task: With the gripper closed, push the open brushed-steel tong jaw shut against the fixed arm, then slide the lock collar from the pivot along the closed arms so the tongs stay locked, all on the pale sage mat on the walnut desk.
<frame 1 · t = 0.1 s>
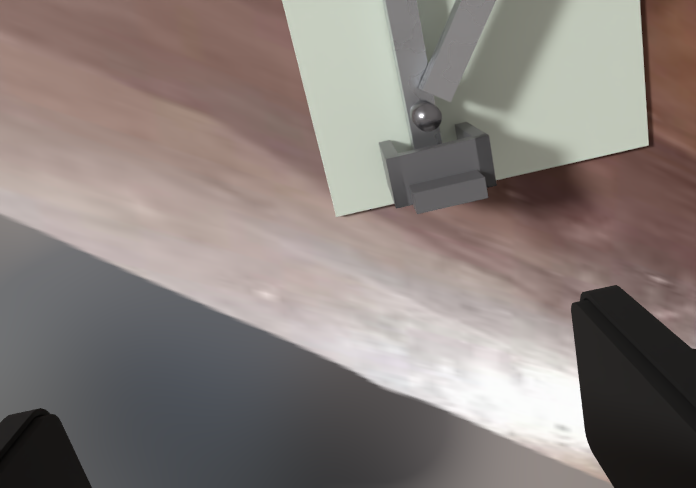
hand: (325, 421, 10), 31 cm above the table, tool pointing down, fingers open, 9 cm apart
lock collar: (435, 165, 35), point 5 cm above the table, slide at 0.0 cm
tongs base: (416, 108, 39), resting on mat
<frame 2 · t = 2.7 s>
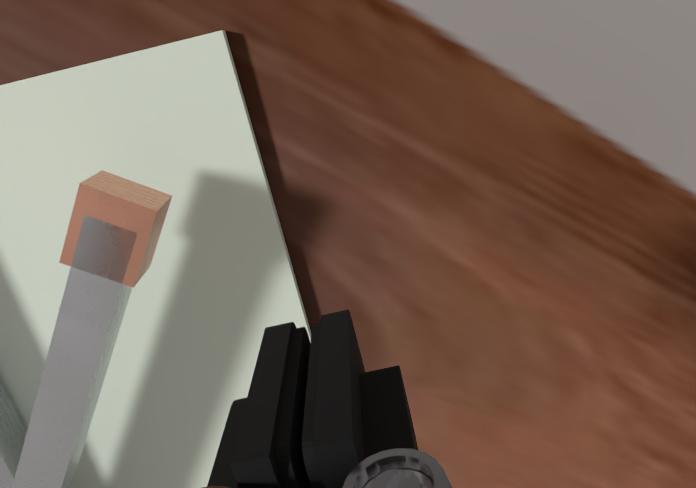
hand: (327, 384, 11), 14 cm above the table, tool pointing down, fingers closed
mat: (81, 372, 27), on the table
jaw: (70, 393, 23), point 4 cm above the table, hinge at 35.0°
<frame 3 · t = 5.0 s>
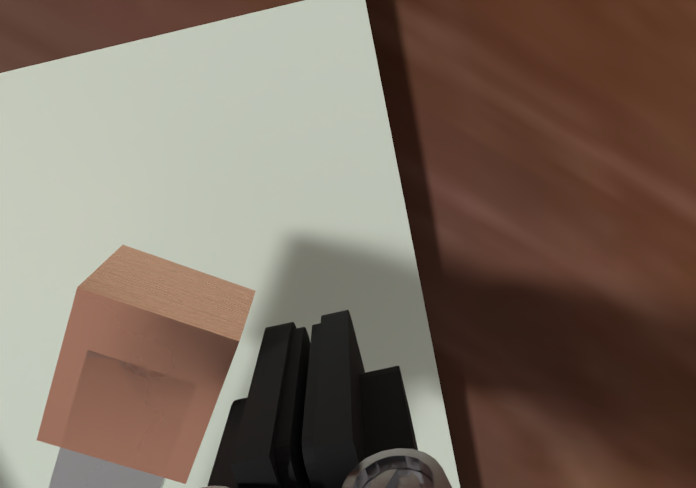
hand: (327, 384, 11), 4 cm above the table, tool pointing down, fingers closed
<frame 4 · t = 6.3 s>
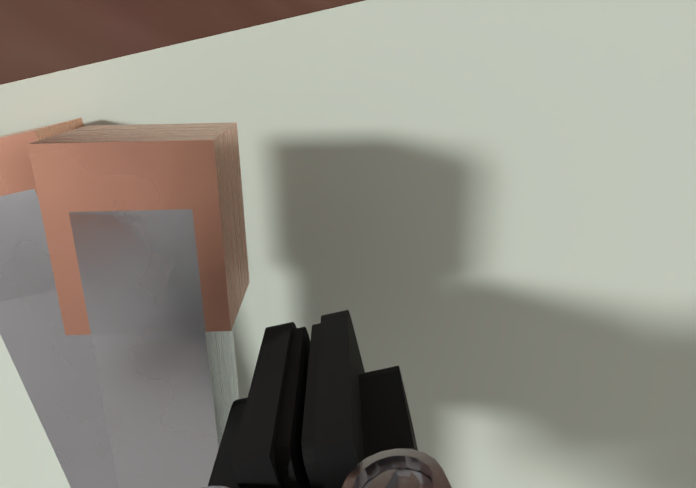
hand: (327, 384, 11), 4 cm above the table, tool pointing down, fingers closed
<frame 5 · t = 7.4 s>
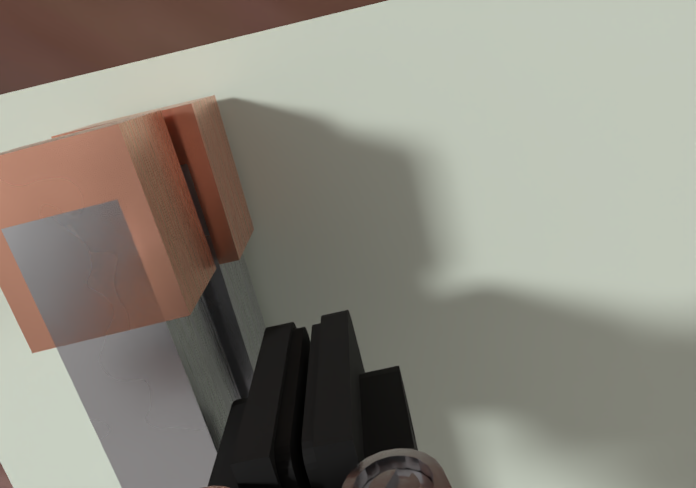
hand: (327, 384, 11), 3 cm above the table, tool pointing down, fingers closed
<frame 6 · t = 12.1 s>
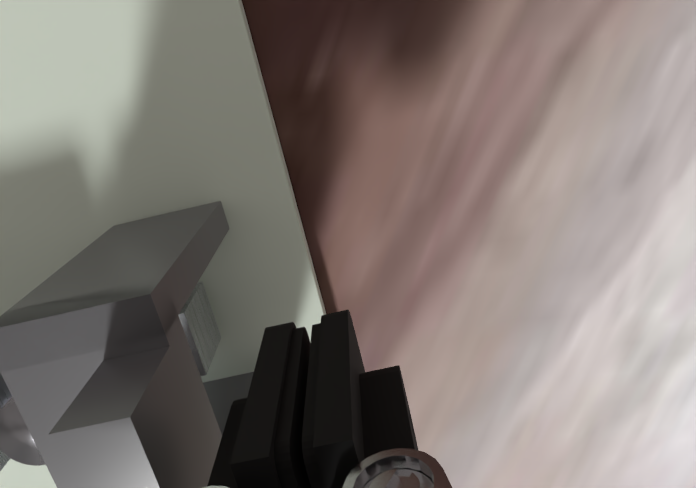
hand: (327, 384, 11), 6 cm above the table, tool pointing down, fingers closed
lock collar: (159, 393, 13), point 5 cm above the table, slide at 0.3 cm, touching gripper
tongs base: (122, 318, 17), resting on mat
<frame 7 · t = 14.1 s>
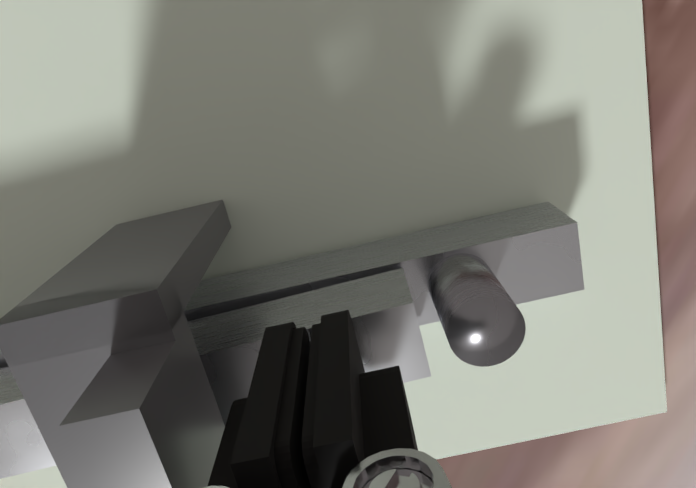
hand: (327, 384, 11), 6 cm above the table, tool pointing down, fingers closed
lock collar: (163, 389, 13), point 5 cm above the table, slide at 10.1 cm, touching gripper
mat: (168, 169, 16), on the table
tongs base: (440, 245, 17), resting on mat
jaw: (52, 408, 14), point 4 cm above the table, hinge at -1.6°
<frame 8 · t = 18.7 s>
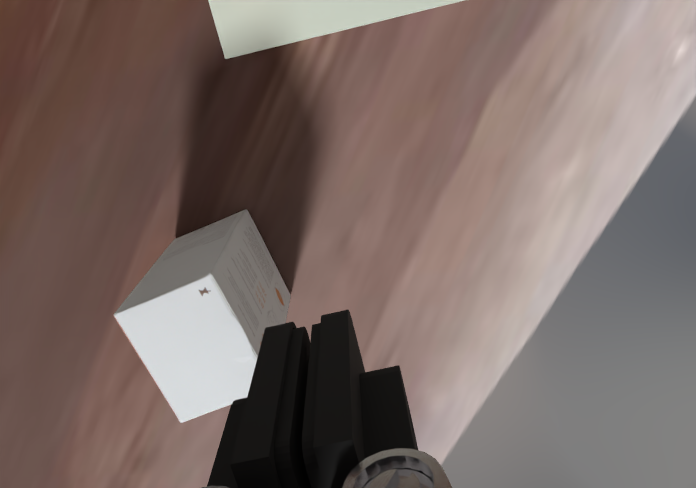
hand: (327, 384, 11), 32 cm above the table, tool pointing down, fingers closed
small box: (234, 267, 45), on the table
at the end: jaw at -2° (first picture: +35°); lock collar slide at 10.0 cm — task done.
